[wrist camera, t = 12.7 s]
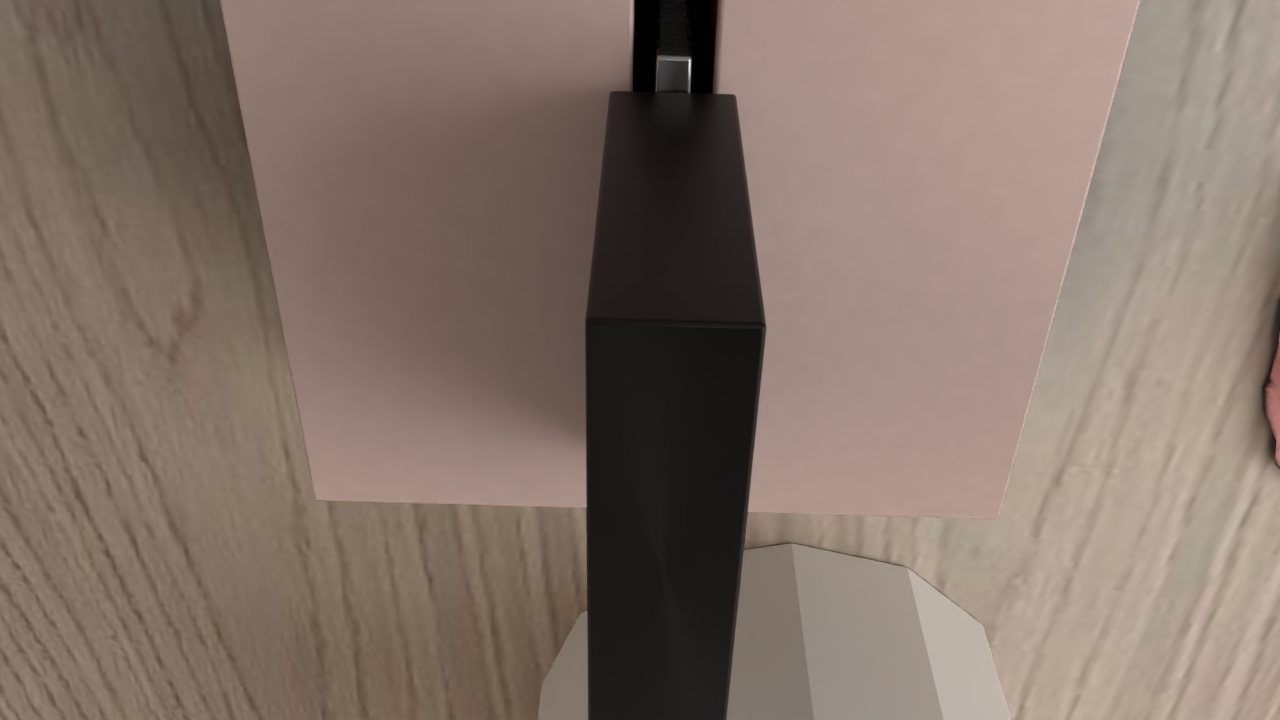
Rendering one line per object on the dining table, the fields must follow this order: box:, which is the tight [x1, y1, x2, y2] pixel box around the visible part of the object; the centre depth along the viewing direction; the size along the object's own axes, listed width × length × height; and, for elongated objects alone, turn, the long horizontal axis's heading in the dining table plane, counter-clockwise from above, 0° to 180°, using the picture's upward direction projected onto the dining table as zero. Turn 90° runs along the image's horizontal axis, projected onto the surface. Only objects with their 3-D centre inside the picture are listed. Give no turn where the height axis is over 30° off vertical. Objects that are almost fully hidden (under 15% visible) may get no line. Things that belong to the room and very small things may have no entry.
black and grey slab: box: [585, 0, 767, 720], centre depth 19 cm, size 8×2×13 cm, turn 179°
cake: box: [220, 0, 1140, 519], centre depth 20 cm, size 13×13×7 cm
